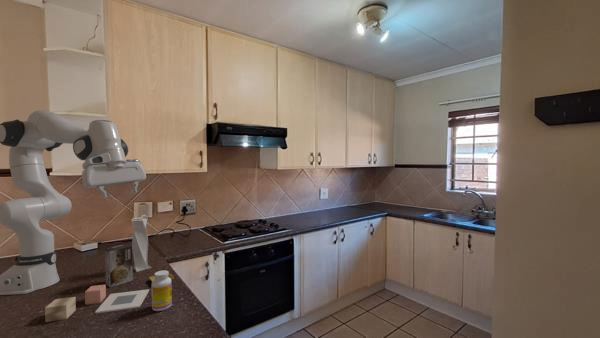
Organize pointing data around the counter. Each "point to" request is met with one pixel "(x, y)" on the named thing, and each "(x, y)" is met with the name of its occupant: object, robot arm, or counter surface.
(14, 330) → the counter surface
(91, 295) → the coral cube
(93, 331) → the counter surface
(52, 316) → the birch block
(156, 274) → the supplement bottle
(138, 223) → the skyscraper
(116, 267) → the coffee box
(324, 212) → the counter surface
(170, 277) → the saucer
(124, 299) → the white flat square slab
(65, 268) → the counter surface
